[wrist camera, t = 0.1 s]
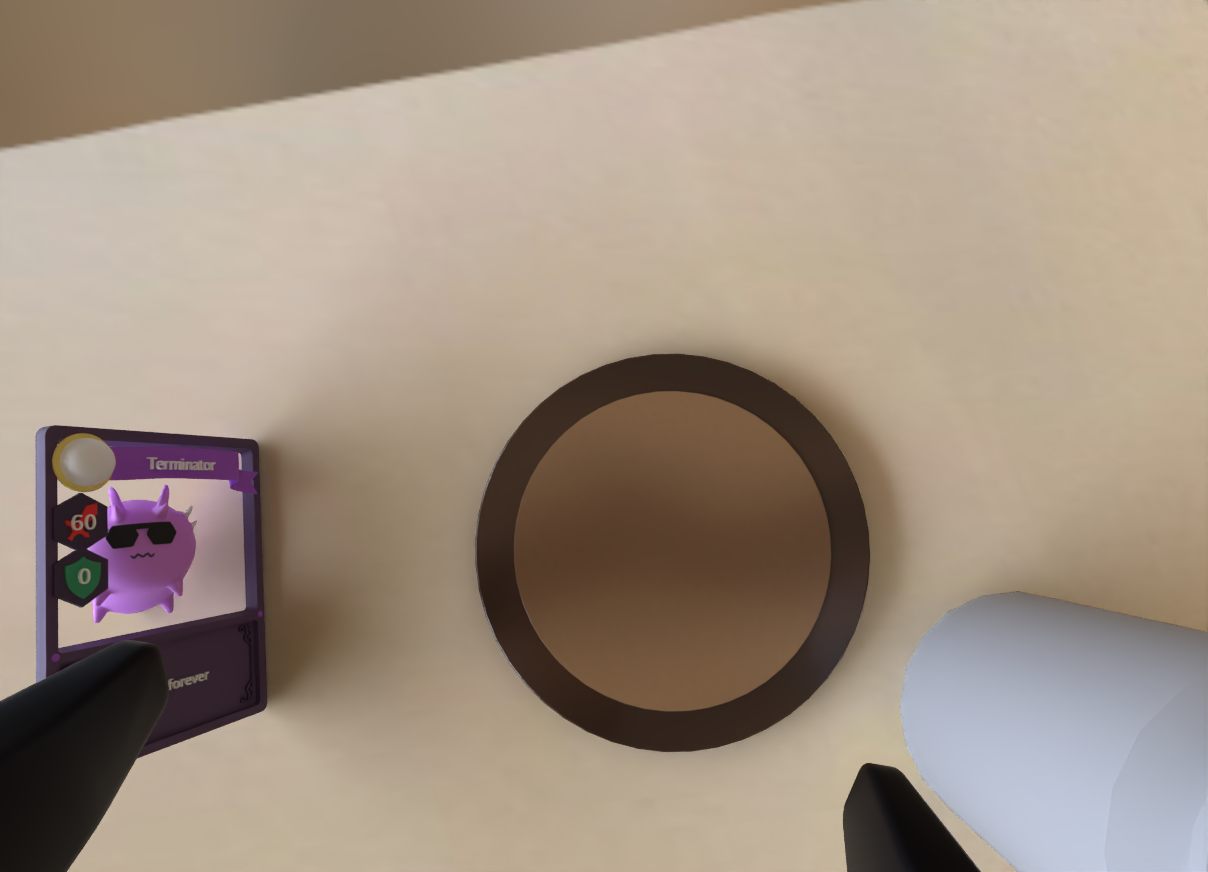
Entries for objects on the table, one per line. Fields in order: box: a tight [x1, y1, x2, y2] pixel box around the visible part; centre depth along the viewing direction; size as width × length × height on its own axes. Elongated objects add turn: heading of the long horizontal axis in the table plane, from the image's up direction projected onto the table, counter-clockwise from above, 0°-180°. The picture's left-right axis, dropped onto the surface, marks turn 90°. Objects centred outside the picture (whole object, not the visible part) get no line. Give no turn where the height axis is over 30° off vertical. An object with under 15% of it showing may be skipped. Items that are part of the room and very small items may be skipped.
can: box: [900, 591, 1208, 872], centre depth 17 cm, size 8×8×12 cm
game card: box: [36, 425, 267, 758], centre depth 21 cm, size 7×5×9 cm
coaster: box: [475, 354, 870, 752], centre depth 23 cm, size 13×13×1 cm
